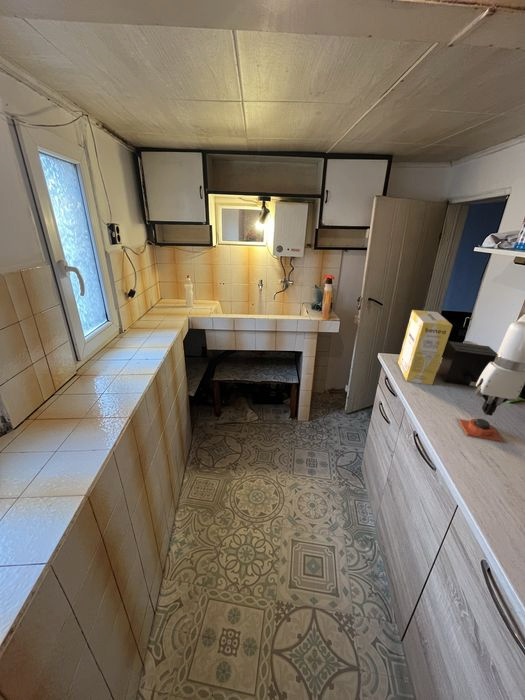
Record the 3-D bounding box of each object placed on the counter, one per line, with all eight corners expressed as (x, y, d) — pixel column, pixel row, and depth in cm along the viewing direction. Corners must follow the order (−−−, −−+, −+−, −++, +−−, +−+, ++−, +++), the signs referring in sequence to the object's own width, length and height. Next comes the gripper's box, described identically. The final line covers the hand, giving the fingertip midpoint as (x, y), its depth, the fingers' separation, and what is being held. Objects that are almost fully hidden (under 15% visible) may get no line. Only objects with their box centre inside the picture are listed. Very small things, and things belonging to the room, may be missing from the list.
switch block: (490, 427, 97) (493, 421, 96) (501, 443, 90) (504, 436, 89) (458, 421, 100) (460, 415, 99) (466, 436, 93) (469, 429, 92)
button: (485, 424, 95) (487, 419, 94) (489, 430, 92) (491, 426, 91) (473, 421, 96) (475, 417, 95) (477, 428, 93) (479, 424, 92)
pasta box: (397, 364, 140) (412, 309, 128) (420, 367, 138) (437, 312, 126) (405, 382, 124) (423, 322, 112) (431, 386, 122) (452, 325, 110)
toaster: (476, 377, 130) (489, 346, 123) (486, 390, 120) (500, 356, 113) (437, 371, 134) (448, 340, 127) (444, 383, 124) (456, 350, 117)
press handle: (472, 379, 120) (473, 375, 119) (477, 386, 115) (479, 382, 114) (464, 378, 121) (465, 374, 120) (469, 385, 115) (471, 381, 115)
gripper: (532, 361, 86) (507, 410, 93) (476, 353, 89) (457, 401, 97) (547, 373, 79) (519, 425, 87) (486, 364, 82) (464, 414, 90)
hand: (486, 412), depth 92 cm, fingers closed
